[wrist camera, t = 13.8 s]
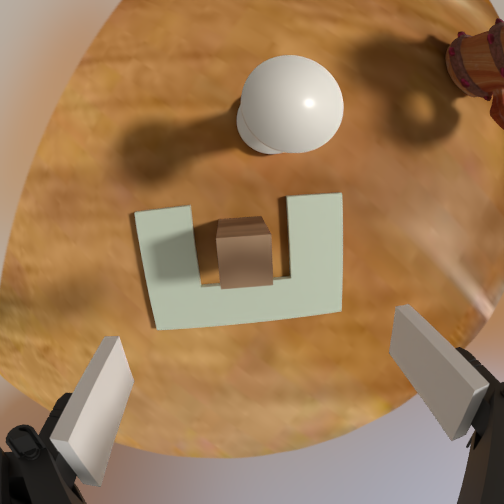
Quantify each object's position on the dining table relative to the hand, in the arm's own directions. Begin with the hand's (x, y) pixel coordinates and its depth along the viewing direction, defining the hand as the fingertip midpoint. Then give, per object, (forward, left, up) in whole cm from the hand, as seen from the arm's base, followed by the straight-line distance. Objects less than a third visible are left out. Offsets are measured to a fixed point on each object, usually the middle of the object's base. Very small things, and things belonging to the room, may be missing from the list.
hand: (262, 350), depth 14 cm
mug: (-18, +31, -22) cm, 42 cm away
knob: (-12, +4, -21) cm, 25 cm away
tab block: (0, 0, -21) cm, 21 cm away
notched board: (+3, 0, -21) cm, 21 cm away
